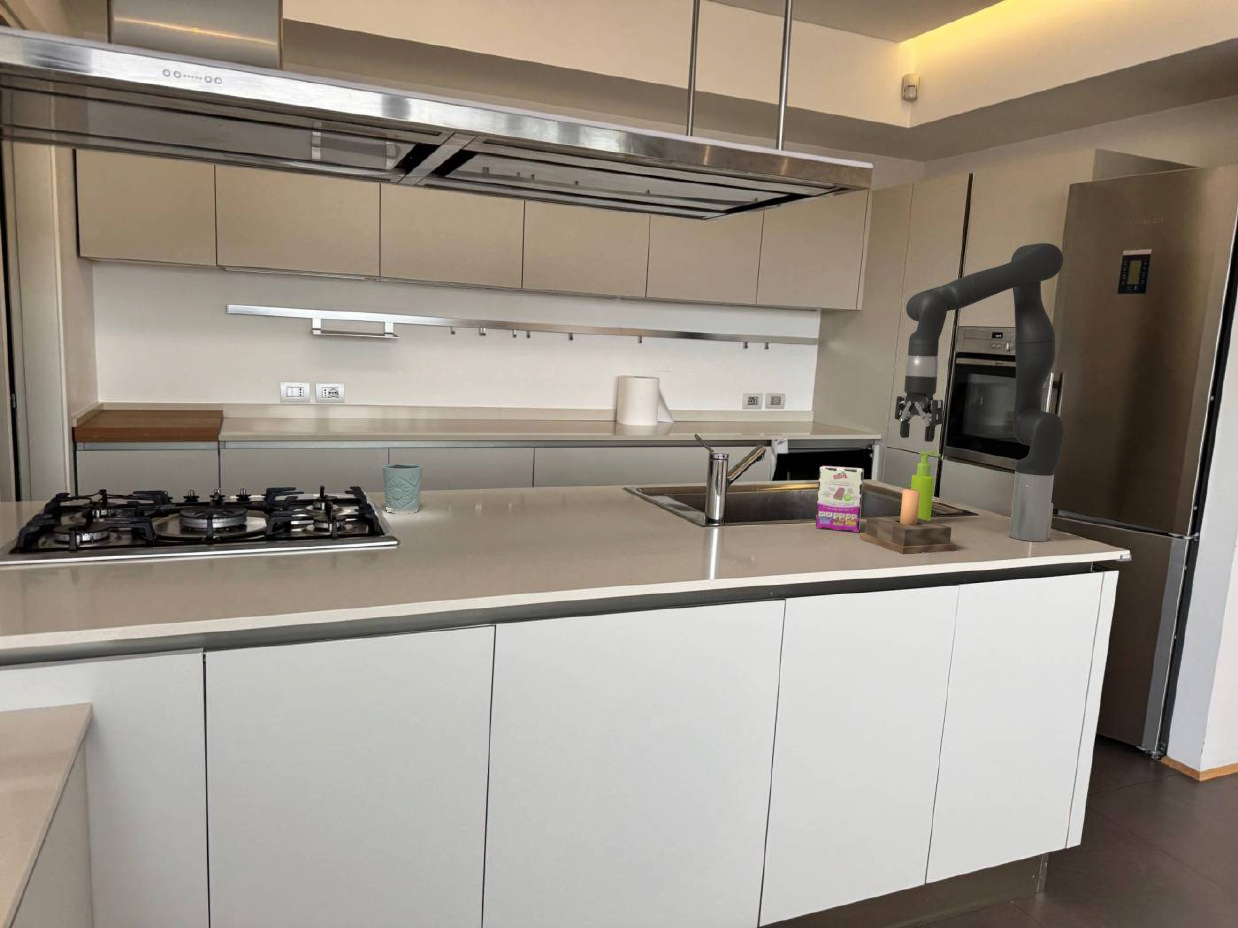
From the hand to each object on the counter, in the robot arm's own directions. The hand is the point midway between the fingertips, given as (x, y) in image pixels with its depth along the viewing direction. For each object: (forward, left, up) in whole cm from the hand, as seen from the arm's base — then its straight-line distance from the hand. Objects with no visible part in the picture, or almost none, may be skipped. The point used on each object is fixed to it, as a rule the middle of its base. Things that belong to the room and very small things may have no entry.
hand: (916, 439), depth 221 cm
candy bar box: (+11, -14, -26) cm, 31 cm away
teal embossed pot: (+117, -57, -26) cm, 133 cm away
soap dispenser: (-18, -15, -26) cm, 35 cm away
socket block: (+5, +6, -25) cm, 26 cm away
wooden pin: (+5, +6, -24) cm, 25 cm away
